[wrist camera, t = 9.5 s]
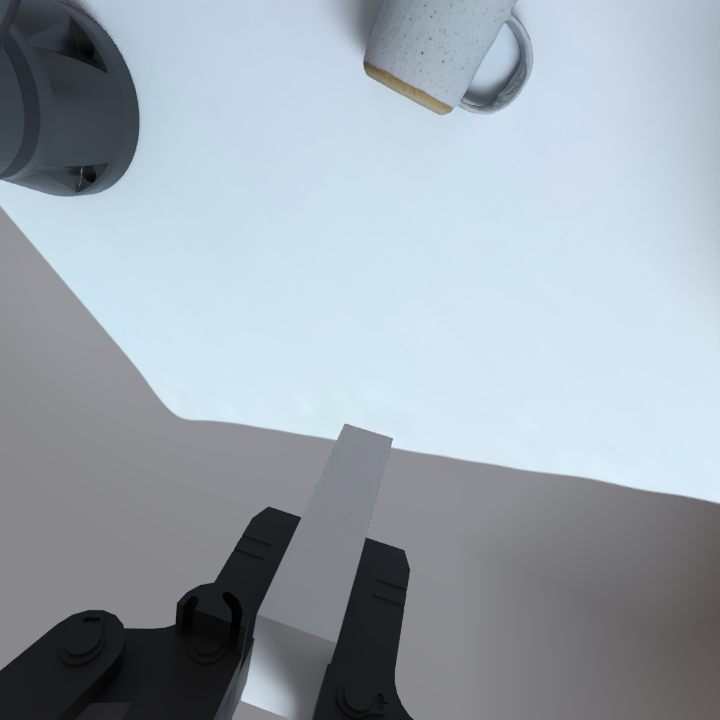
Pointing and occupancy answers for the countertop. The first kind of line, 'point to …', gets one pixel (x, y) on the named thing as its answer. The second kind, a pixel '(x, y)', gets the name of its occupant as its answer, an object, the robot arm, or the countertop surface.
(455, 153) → the countertop surface
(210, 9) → the countertop surface
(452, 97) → the ceramic mug
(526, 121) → the countertop surface
